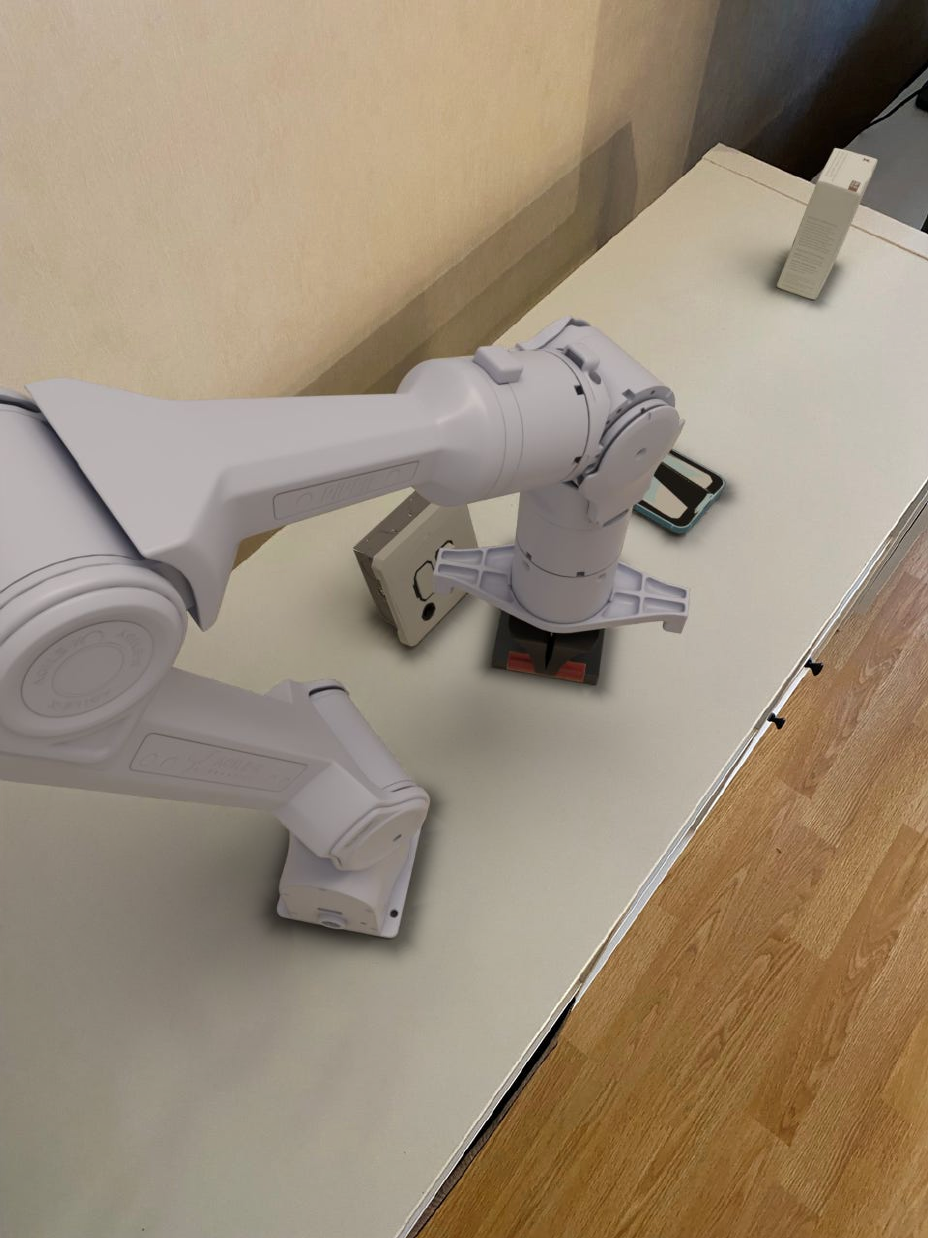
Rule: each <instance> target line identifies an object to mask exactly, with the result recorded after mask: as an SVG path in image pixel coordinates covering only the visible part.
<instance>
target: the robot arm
mask: <svg viewBox="0 0 928 1238" xmlns="http://www.w3.org/2000/svg"><path fill="white" fill-rule="evenodd" d="M23 387H24V389H25V390H26V392H27V393H28V394H29V395H27V394H25V393H23V392H20V391H18V390H15V389H12V388H8V387H4V386H0V781H3V782H11V783H12V782H13V783H20V784H30V785H36V786H37V785H38V786H47V787H56V788H63V789H64V788H65V789H72V790H79V791H80V790H82V791H89V792H90V791H91V792H98V793H99V792H100V793H107V794H117V795H123V796H132V797H141V798H150V799H159V800H167V801H168V800H169V801H176V802H184V803H185V802H186V803H195V804H204V805H211V806H221V807H228V808H229V807H230V808H237V809H246V810H256V811H264V812H268V813H269V814H271V816H273V817H274V818H275V819H276V820H277V821H279V823H280V824H282V825H283V826H284V827H285V828H286V829H287V830H288V832H289V842H288V851H287V856H286V859H285V863H284V866H283V870H282V874H281V877H280V880H279V885H278V892H279V899H278V902H277V905H276V912H277V914H278V915H279V916H280V917H282V918H284V919H290V920H293V921H294V920H295V921H298V922H299V921H300V922H305V923H309V924H314V925H318V926H319V925H321V926H324V927H327V928H330V929H334V930H345V931H350V932H356V933H361V934H365V935H371V936H376V937H380V938H386V939H393V938H395V937H396V936H398V934H399V931H400V926H401V921H402V918H403V913H404V909H405V905H406V899H407V895H408V889H409V887H410V881H411V877H412V872H413V867H414V863H415V858H416V854H417V850H418V845H419V839H420V836H421V830H422V826H423V824H424V822H425V821H426V819H427V816H428V811H429V808H430V805H431V798H430V795H429V794H428V793H427V791H426V790H425V789H424V788H423V787H422V786H418V784H417V783H416V782H415V781H414V779H413V778H412V777H411V776H410V774H409V772H408V771H407V770H406V769H405V767H404V766H403V765H402V763H400V762H401V761H399V760H398V759H397V757H396V756H395V755H394V752H392V751H391V749H390V748H389V746H388V745H387V744H386V743H385V742H384V740H383V739H382V738H381V736H380V735H379V734H378V732H377V731H376V730H375V729H374V727H373V726H372V724H371V723H370V721H368V720H367V718H366V717H365V715H363V713H362V712H361V710H360V709H359V708H358V707H357V705H356V704H355V702H354V701H353V700H352V698H351V697H350V692H349V690H348V689H347V688H346V686H345V685H344V683H342V681H339V680H337V679H333V678H322V679H314V680H309V681H306V682H304V681H297V680H294V679H291V678H285V679H284V680H282V681H281V682H279V683H277V684H276V685H274V686H273V687H272V688H271V689H269V690H268V691H266V692H265V693H264V694H261V693H257V692H256V691H255V692H254V691H252V690H248V689H245V688H242V687H238V686H236V685H232V684H230V683H226V682H223V681H220V680H216V679H214V678H210V677H207V676H204V675H200V674H198V673H194V672H191V671H188V670H185V669H182V668H178V667H175V666H174V664H175V662H176V660H177V658H178V656H179V653H180V652H181V650H182V647H183V645H184V643H185V640H186V637H187V636H186V635H187V632H188V627H189V626H188V624H189V622H188V621H189V616H188V614H189V615H190V617H191V618H192V619H193V621H194V622H195V624H196V625H197V627H198V628H199V629H200V631H201V632H202V633H204V632H206V631H208V630H210V629H211V628H212V627H213V626H214V625H215V624H216V621H217V620H218V617H219V614H220V611H221V608H222V604H223V601H224V597H225V594H226V590H227V586H228V584H229V580H230V577H231V574H232V571H233V567H234V563H235V561H236V558H237V555H238V551H239V548H240V545H241V543H242V541H243V540H245V539H247V538H248V539H249V538H250V537H253V536H257V535H260V534H263V533H266V532H270V531H274V530H277V529H279V528H283V527H287V526H291V525H292V524H296V523H300V522H302V521H306V520H309V519H312V518H315V517H319V516H321V515H324V514H328V513H331V512H335V511H338V510H341V509H344V508H347V507H350V506H353V505H357V504H360V503H363V502H366V501H367V502H368V501H370V500H374V499H377V498H379V497H383V496H386V495H389V494H393V493H396V492H399V491H402V490H405V489H409V488H412V489H413V490H414V491H416V492H417V493H418V494H419V495H421V496H422V497H423V498H424V499H426V500H428V501H429V502H431V503H433V504H435V505H438V506H442V507H457V506H462V505H466V504H467V505H470V504H475V503H478V502H482V501H488V500H492V499H497V498H501V497H505V496H509V495H513V494H518V493H519V499H518V509H517V519H516V528H515V536H514V537H515V538H514V543H507V544H498V545H492V546H491V545H490V546H483V547H479V548H474V549H448V548H440V549H439V552H438V556H437V560H436V564H435V568H434V572H433V591H434V593H437V594H443V595H450V594H452V592H453V587H456V588H459V589H461V590H463V591H465V592H467V593H466V594H470V595H471V596H474V597H475V598H478V599H479V600H481V601H483V602H485V603H487V604H489V605H491V606H493V607H495V608H497V609H500V611H501V610H503V611H505V612H507V613H509V620H508V631H509V635H510V638H511V639H513V640H515V641H516V642H518V643H519V644H521V645H522V646H523V647H524V648H525V650H526V651H527V653H528V654H529V656H530V658H531V660H532V663H533V666H534V672H535V673H537V674H543V675H549V676H555V675H556V674H557V672H558V671H559V669H560V668H561V667H562V666H563V665H564V664H565V663H566V662H567V661H568V660H570V659H571V658H572V657H574V656H576V655H578V654H581V653H586V652H591V651H592V650H593V648H594V647H595V645H596V643H597V641H598V638H599V634H600V629H602V628H605V629H608V628H616V627H617V628H618V627H624V626H632V625H638V624H647V623H655V622H663V623H662V629H663V630H664V631H665V632H667V633H674V634H680V635H681V634H682V633H683V630H684V627H685V625H686V623H687V620H688V618H689V610H690V601H691V599H690V598H691V597H690V596H691V588H690V587H687V586H683V585H679V584H678V585H677V584H674V583H671V582H668V581H665V580H662V579H661V578H657V577H655V576H654V575H652V574H649V573H648V572H645V571H643V570H640V569H638V568H636V567H634V566H632V565H630V564H628V563H625V562H623V561H621V560H620V558H621V554H622V551H623V548H624V544H625V540H626V537H627V532H628V528H629V525H630V520H631V516H632V514H633V513H632V512H633V510H634V509H633V506H634V505H635V504H636V503H638V502H639V501H641V500H642V499H643V497H644V494H645V493H646V491H648V490H649V489H650V485H651V482H652V478H653V476H654V473H655V471H656V470H657V468H658V466H659V465H660V463H661V462H662V461H663V459H664V458H665V457H666V456H667V454H668V453H669V452H670V450H671V449H673V447H674V446H675V444H676V442H677V440H678V439H679V437H680V435H681V433H682V431H683V430H684V429H683V428H684V426H685V423H686V419H685V418H681V416H680V414H679V412H678V410H677V409H676V397H675V393H674V392H673V390H671V388H670V387H669V386H668V385H667V384H665V383H664V382H663V381H662V380H661V379H659V378H658V377H657V376H655V374H653V372H651V371H650V370H649V369H647V367H645V366H644V365H643V364H642V363H641V362H639V361H638V360H637V359H635V357H633V356H632V355H631V354H630V353H628V351H626V350H625V349H624V348H623V347H621V345H619V344H618V343H617V342H616V341H614V340H613V339H612V338H611V337H610V336H608V335H607V334H606V333H604V331H603V330H601V329H599V327H596V326H593V325H592V324H591V323H590V322H589V321H587V320H586V319H583V318H577V317H573V316H572V315H566V316H563V317H561V318H559V319H557V320H555V321H553V322H551V323H550V324H548V325H546V326H545V327H544V328H542V329H541V330H540V331H539V332H537V333H536V334H535V335H534V336H533V337H531V338H530V339H528V340H526V341H523V342H517V343H516V344H515V345H514V346H513V347H510V348H508V349H506V348H505V347H504V346H502V345H500V344H495V345H484V346H479V347H478V348H477V349H476V352H475V354H474V355H473V354H471V355H462V356H461V355H460V356H450V357H449V356H448V357H438V358H431V359H427V360H424V361H422V362H419V363H418V364H416V365H415V366H414V367H412V368H411V369H410V370H409V371H408V372H407V373H406V375H404V377H403V378H402V380H401V382H400V383H399V385H398V387H397V389H396V392H395V393H375V394H374V393H373V394H372V393H371V394H370V393H369V394H368V393H367V394H339V395H337V394H336V395H334V394H333V395H302V396H274V397H273V396H271V397H270V396H269V397H268V396H267V397H241V398H240V397H239V398H238V397H237V398H208V399H207V398H205V399H170V398H169V399H168V398H161V397H156V396H151V395H147V394H142V393H138V392H134V391H131V390H125V389H122V388H116V387H113V386H110V385H109V386H108V385H105V384H101V383H96V382H92V381H91V382H90V381H87V380H82V379H78V378H74V377H69V376H59V377H52V378H48V379H44V380H43V379H42V380H39V381H34V382H30V383H25V384H24V385H23ZM551 632H553V633H552V636H551ZM393 912H396V913H397V915H396V916H394V917H393V916H391V914H392V913H393Z"/></svg>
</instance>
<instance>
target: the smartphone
mask: <svg viewBox="0 0 928 1238" xmlns="http://www.w3.org/2000/svg"><path fill="white" fill-rule="evenodd" d="M725 487H726V479H725V478H724V477H723V476H722V475H721V474H720V473H718V472H716V471H714V470H712V469H710V468H708V467H707V466H705V465H703V464H702V463H701V462H698V461H696V460H694V459H692V458H691V457H689V456H687V455H685V454H683V453H681V452H680V451H678V450H676V449H674V448H672V449H671V450H670V452H669V453H668V454H667V456H666V457H665V458H664V459H663V461H662V462H661V463H660V465H659V466H658V468H657V470H656V471H655V473H654V476H653V478H652V482H651V485H650V489H649V490H648V491H646V493H645V494H644V497H643V499H642V500H641V501H639V502H638V503H636V504H635V505H634V506H633V509H632V510H635V511H637V512H638V513H640V514H642V515H643V516H645V517H647V518H649V519H650V520H652V521H654V522H655V523H657V524H658V525H660V526H662V527H664V528H666V529H667V530H668V531H670V532H672V533H675V534H685V533H687V532H689V531H690V530H691V529H692V527H694V525H695V524H696V523H697V522H698V521H699V520H700V518H701V517H702V516H703V515H704V514H705V513H706V512H707V511H708V510H709V508H710V507H711V506H712V505H713V504H714V503H715V502H716V500H718V498H719V497H720V496H721V495H722V494H723V492H724V490H725Z"/></svg>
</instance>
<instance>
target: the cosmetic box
mask: <svg viewBox="0 0 928 1238" xmlns="http://www.w3.org/2000/svg"><path fill="white" fill-rule="evenodd" d="M877 164H878V159H877V158H874V157H872V156H869V155H865V154H861V153H858V152H854V151H850V150H847V149H843V148H837V147H834V148H833V149H832V152H831V154H830V156H829V158H828V160H827V162H826V163H825V165H824V167H823V168H822V171H821V173H820V175H819V176H818V178H817V181H816V183H815V185H814V189H813V190H812V194H811V196H810V198H809V201H808V203H807V205H806V207H805V211H804V213H803V216H802V218H801V221H800V224H799V227H798V229H797V231H796V234H795V236H794V239H793V242H792V244H791V247H790V250H789V252H788V255H787V257H786V260H785V263H784V265H783V268H782V271H781V273H780V276H779V278H778V281H777V283H776V287H777V288H779V289H781V290H783V291H785V292H788V293H791V294H794V295H797V296H800V297H803V298H807V299H809V300H816V299H817V298H818V296H819V295H820V293H821V290H822V289H823V287H824V285H825V283H826V281H827V279H828V277H829V275H830V273H831V271H832V269H833V267H834V265H835V262H836V260H837V258H838V257H839V254H840V251H841V249H842V247H843V244H844V242H845V240H846V237H847V234H848V233H849V230H850V227H851V225H852V223H853V221H854V218H855V216H856V213H857V211H858V209H859V207H860V204H861V202H862V200H863V197H864V194H865V193H866V190H867V188H868V186H869V183H870V182H871V181H870V180H871V179H872V176H873V174H874V171H875V169H876V166H877Z"/></svg>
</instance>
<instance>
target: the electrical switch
mask: <svg viewBox="0 0 928 1238" xmlns="http://www.w3.org/2000/svg"><path fill="white" fill-rule="evenodd" d="M471 517H472V516H471V514H470V511H469V505H468V504H466V505H462V506H457V507H442V506H438V505H435V504H433V503H431V502H429V501H428V500H426V499H424V498H423V497H422V496H421V495H419V494H418V493H417V492H416V491H415V490H414V491H412V492H411V493H410V494H409V495H408V496H407V497H406V498H405V499H404V500H403V501H402V502H401V503H400V504H399V505H397V506H396V507H395V508H394V509H393V510H392V511H391V512H390V513H389V514H388V515H387V516H385V517H384V518H383V519H382V520H381V521H380V522H379V523H378V524H377V525H375V527H374V528H373V529H371V530H370V531H369V532H368V533H367V534H366V535H365V536H364V537H363V538H362V539H360V540H359V541H358V542H357V543H356V544H355V545H354V546H353V547H352V548H353V549H352V551H353V553H354V556H355V559H356V561H357V564H358V566H359V568H360V571H361V573H362V576H363V578H364V581H365V583H366V587H367V588H368V591H369V593H370V596H371V598H372V600H373V603H374V606H375V608H376V611H377V613H378V615H379V618H380V620H382V621H384V622H386V623H388V624H390V625H391V626H393V627H394V628H395V629H396V630H397V631H396V633H397V636H398V639H399V641H400V643H402V644H404V645H406V646H409V647H415V646H416V645H418V644H419V643H420V642H421V640H422V639H423V638H425V636H426V635H428V634H429V632H431V630H432V629H434V627H435V626H436V625H437V624H438V623H439V622H440V621H441V620H442V619H443V618H444V617H445V616H446V615H447V614H448V613H449V612H450V611H451V609H453V607H455V606H456V605H457V603H459V601H461V600H462V598H463V597H464V596H465V595H466V594H468V593H467V592H465V591H463V590H461V589H459V588H456V587H453V592H452V594H450V595H443V594H437V593H434V591H433V572H434V568H435V564H436V560H437V556H438V552H439V549H440V548H448V549H474V548H480V547H479V544H478V541H477V540H478V539H477V536H476V532H475V529H474V525H473V521H472V518H471ZM382 592H383V593H382Z"/></svg>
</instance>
